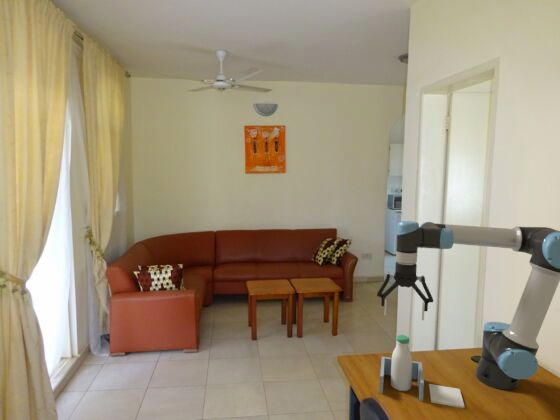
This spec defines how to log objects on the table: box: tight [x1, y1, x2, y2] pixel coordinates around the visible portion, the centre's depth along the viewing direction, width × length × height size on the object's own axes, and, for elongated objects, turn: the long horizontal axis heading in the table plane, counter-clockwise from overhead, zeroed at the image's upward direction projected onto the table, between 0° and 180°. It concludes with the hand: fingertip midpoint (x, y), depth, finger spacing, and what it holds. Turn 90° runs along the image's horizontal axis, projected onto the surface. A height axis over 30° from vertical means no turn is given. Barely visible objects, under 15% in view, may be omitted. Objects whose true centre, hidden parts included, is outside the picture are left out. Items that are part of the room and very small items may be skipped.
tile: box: [428, 383, 465, 409], centre depth 141 cm, size 11×11×1 cm
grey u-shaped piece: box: [378, 356, 425, 402], centre depth 147 cm, size 15×15×7 cm
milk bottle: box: [390, 334, 413, 392], centre depth 146 cm, size 8×8×20 cm
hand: (403, 316), depth 144 cm, fingers open, 13 cm apart
